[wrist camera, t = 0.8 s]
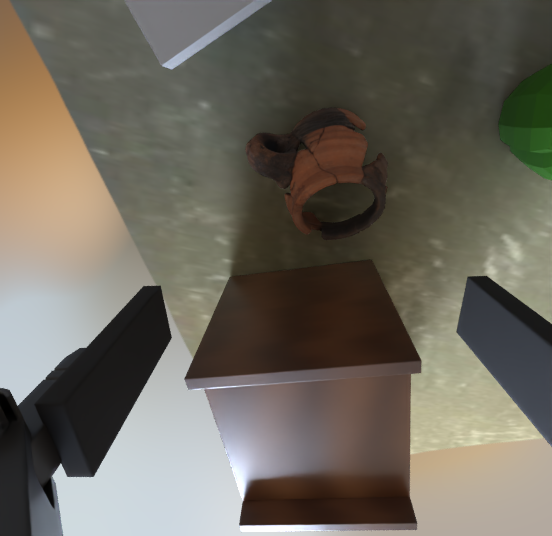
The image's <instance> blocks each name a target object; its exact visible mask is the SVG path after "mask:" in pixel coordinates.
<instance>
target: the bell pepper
mask: <svg viewBox="0 0 552 536" xmlns="http://www.w3.org/2000/svg"><path fill="white" fill-rule="evenodd" d="M498 125H499V132H500V140H501V141H503V142H504V143H505V144H507V145H508V146H510V151H511V152H512V153H513V154H514V155H515V156H516V157H517V158H518V159H519V160H520V161H521V162H523V163H524V164H525V165H526V166H527V167H529V168H530V169H531V170H533V171H534V172H536V173H537V174H539V175H540V176H542V177H543V178H545V179H548V180H552V64H550V65H548V66H547V67H545V68H543V69H541V70H540V71H538V72H536V73H534V74H533V75H531V76H529V77H528V78H526V79H525V80H523V81H522V82H521V83H520V84H519V85H518V87H517V88H516V89H515V90H514V91H513V92H512V93H511V94H510V96H509V97H508V98H507V99H506V100H505V101H504V104H503V108H502V112H501V116H500V120H499V124H498Z"/></svg>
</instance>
